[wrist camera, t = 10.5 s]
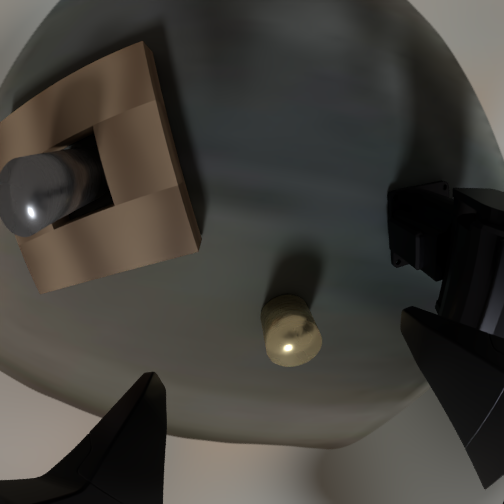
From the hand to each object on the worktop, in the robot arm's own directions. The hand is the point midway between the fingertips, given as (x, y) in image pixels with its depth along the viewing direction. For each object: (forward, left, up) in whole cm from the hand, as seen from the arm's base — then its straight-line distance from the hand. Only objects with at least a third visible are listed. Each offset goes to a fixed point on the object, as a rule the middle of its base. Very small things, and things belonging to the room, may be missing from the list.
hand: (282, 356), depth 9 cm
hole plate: (+10, -8, -12) cm, 18 cm away
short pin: (-1, +7, -12) cm, 14 cm away
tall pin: (+10, -8, -12) cm, 18 cm away
